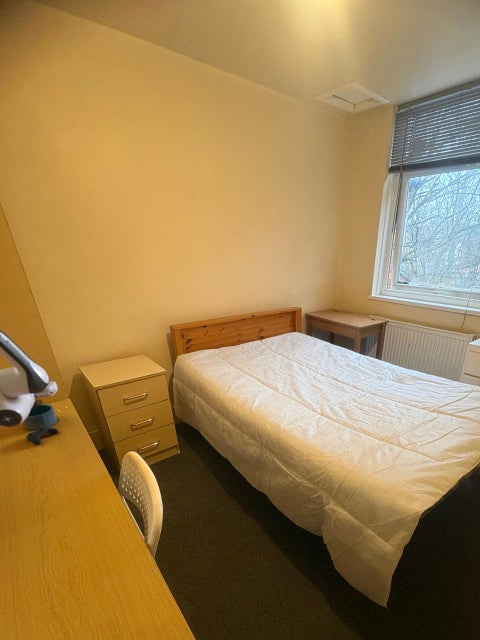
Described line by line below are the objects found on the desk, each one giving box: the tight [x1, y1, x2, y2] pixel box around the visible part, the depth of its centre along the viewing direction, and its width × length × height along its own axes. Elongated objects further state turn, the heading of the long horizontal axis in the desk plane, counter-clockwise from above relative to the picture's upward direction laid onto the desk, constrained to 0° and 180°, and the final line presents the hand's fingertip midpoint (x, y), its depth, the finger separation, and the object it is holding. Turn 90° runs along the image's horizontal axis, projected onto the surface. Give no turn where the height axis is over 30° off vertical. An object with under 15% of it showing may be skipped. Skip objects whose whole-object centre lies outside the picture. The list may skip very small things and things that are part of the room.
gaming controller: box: [26, 426, 60, 446], centre depth 122 cm, size 10×5×6 cm
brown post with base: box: [33, 398, 44, 407], centre depth 124 cm, size 5×5×15 cm
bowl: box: [22, 403, 58, 431], centre depth 130 cm, size 11×11×6 cm
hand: (27, 384), depth 124 cm, fingers closed on brown post with base, 2 cm apart
